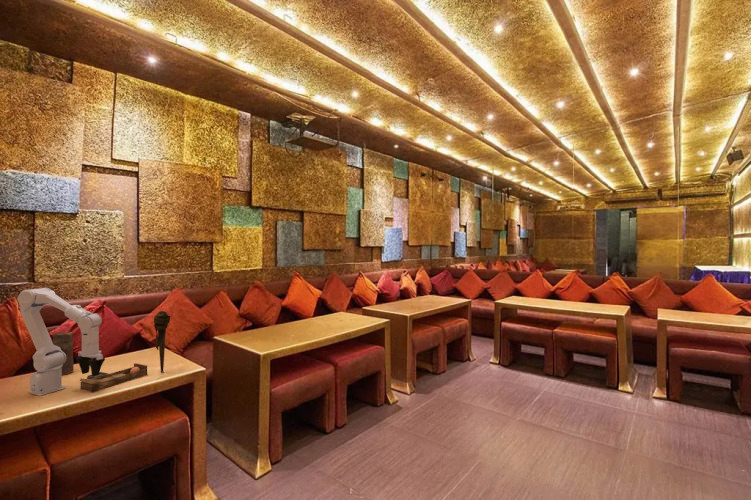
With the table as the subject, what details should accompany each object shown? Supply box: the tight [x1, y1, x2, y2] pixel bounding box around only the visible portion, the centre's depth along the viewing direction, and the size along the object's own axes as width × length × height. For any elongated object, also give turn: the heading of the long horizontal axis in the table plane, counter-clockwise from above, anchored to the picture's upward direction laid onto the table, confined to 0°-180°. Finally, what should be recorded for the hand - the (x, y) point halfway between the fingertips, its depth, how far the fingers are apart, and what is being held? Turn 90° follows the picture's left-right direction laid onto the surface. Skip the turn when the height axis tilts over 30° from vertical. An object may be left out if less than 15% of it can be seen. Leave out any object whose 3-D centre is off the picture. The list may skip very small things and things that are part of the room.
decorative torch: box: [153, 310, 171, 374], centre depth 174 cm, size 7×7×30 cm
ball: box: [130, 366, 140, 373], centre depth 170 cm, size 4×4×4 cm
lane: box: [79, 362, 148, 393], centre depth 162 cm, size 23×9×4 cm, turn 155°
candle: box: [52, 331, 75, 376], centre depth 174 cm, size 8×7×20 cm
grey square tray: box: [86, 371, 109, 379], centre depth 164 cm, size 6×6×3 cm
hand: (90, 374), depth 153 cm, fingers open, 7 cm apart
